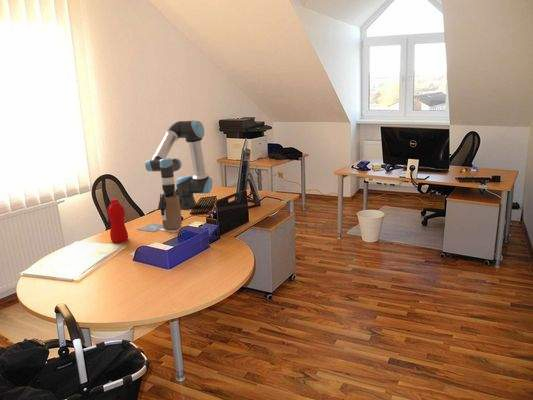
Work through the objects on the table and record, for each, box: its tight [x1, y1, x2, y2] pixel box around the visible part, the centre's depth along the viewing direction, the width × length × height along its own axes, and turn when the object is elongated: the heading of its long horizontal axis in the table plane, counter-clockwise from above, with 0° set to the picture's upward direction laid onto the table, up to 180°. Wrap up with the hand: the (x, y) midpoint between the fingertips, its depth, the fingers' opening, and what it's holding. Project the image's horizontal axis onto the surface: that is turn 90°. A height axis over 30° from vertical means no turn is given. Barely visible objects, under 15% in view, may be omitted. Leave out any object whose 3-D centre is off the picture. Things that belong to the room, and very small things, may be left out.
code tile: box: [137, 222, 163, 233], centre depth 284 cm, size 14×14×1 cm
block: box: [161, 194, 183, 229], centre depth 277 cm, size 10×10×20 cm
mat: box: [159, 225, 185, 233], centre depth 280 cm, size 12×12×1 cm
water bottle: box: [106, 198, 129, 244], centre depth 259 cm, size 9×11×25 cm
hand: (171, 217), depth 278 cm, fingers closed on block, 13 cm apart
